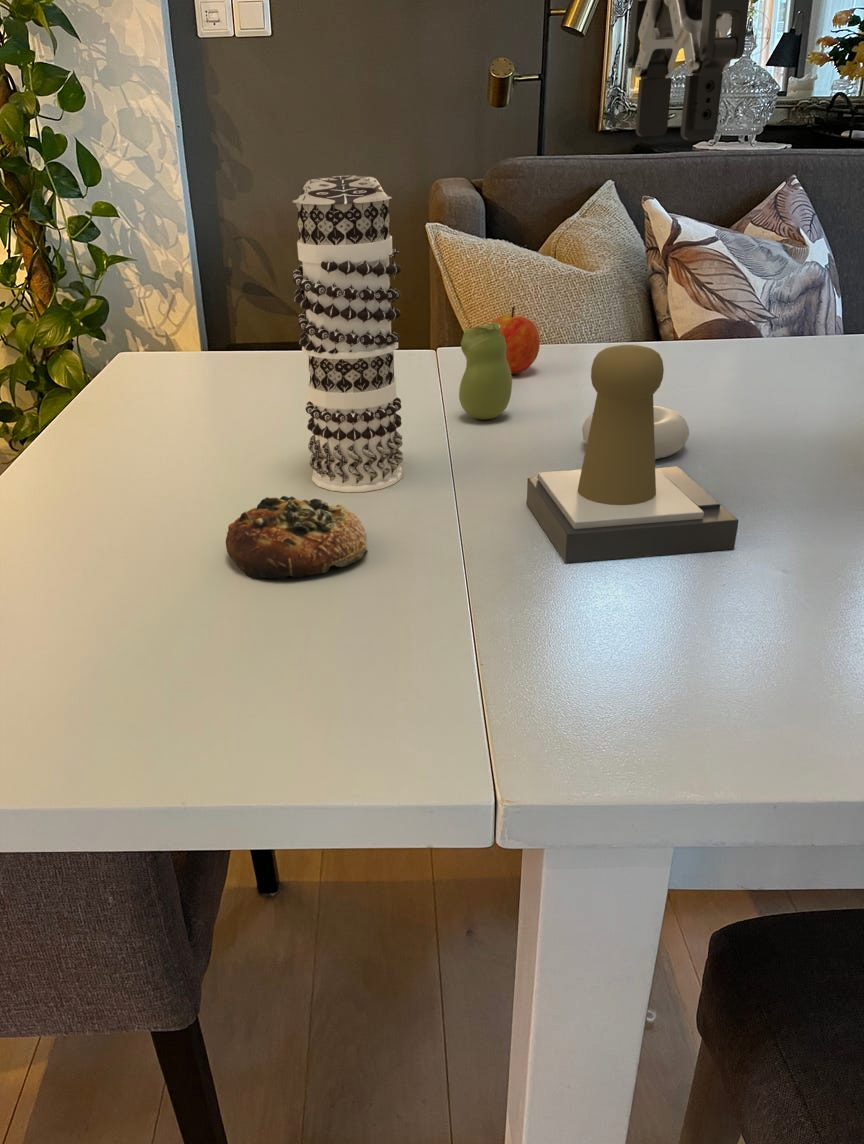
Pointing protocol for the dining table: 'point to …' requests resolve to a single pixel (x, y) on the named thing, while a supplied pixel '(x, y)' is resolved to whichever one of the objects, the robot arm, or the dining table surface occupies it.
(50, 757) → the dining table surface
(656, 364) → the olive game pawn
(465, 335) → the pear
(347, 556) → the bread roll
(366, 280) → the decorative candle
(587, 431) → the donut
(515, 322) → the fruit
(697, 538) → the scale
